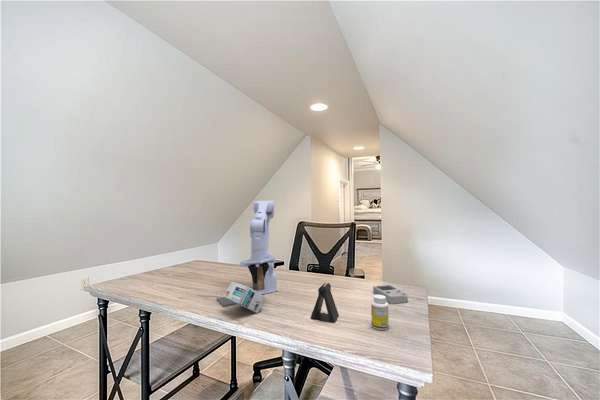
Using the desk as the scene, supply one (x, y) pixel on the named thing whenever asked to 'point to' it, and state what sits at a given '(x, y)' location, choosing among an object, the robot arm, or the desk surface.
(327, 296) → the black triangular stand
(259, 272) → the brown rectangular block
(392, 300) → the handheld gaming device
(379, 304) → the supplement bottle
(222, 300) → the rubber mat
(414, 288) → the desk surface
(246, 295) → the light bulb box
